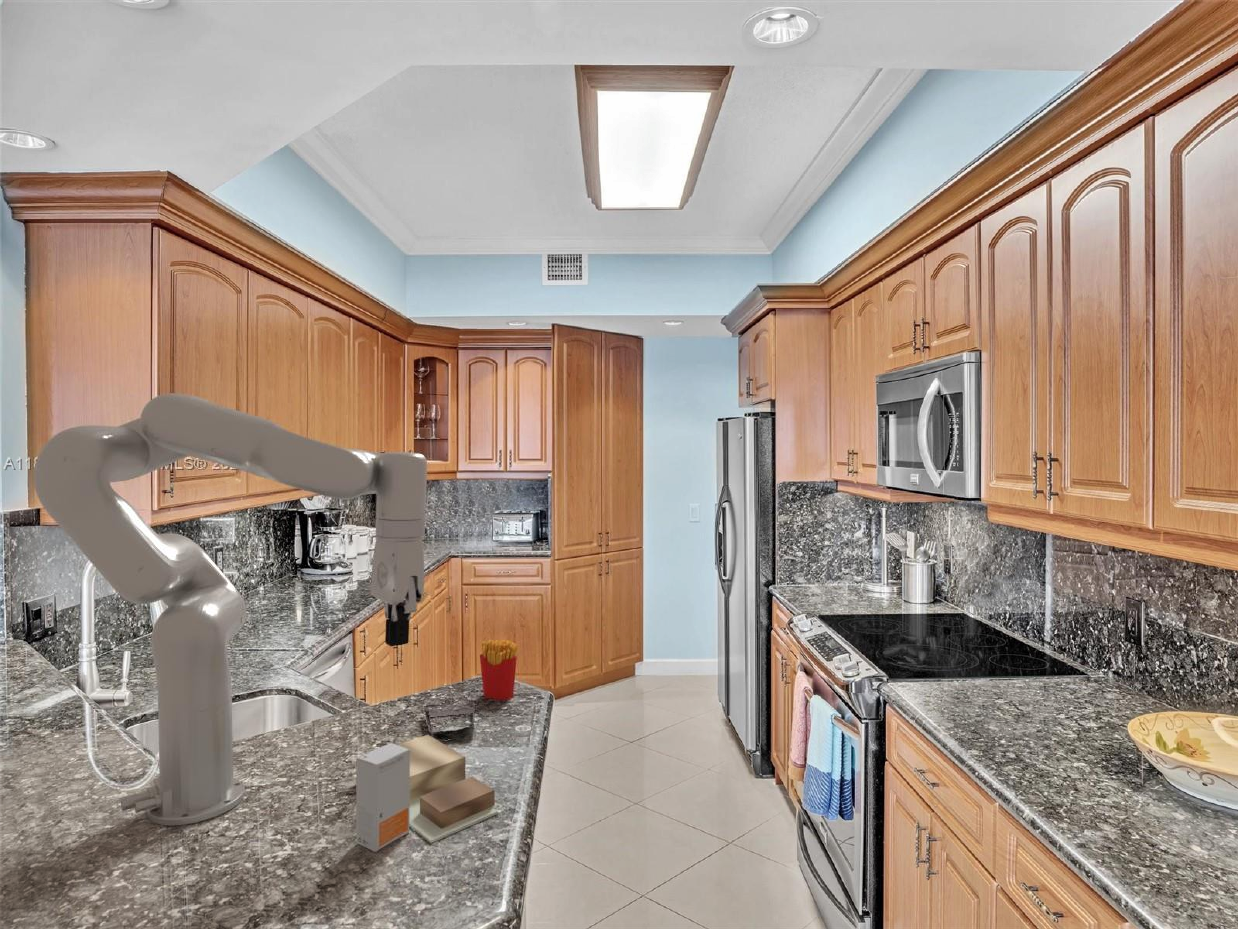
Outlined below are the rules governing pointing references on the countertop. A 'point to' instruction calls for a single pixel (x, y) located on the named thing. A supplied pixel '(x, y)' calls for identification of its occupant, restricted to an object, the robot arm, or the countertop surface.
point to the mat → (432, 830)
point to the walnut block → (457, 802)
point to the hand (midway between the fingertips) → (396, 643)
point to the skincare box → (382, 796)
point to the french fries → (498, 668)
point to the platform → (432, 765)
